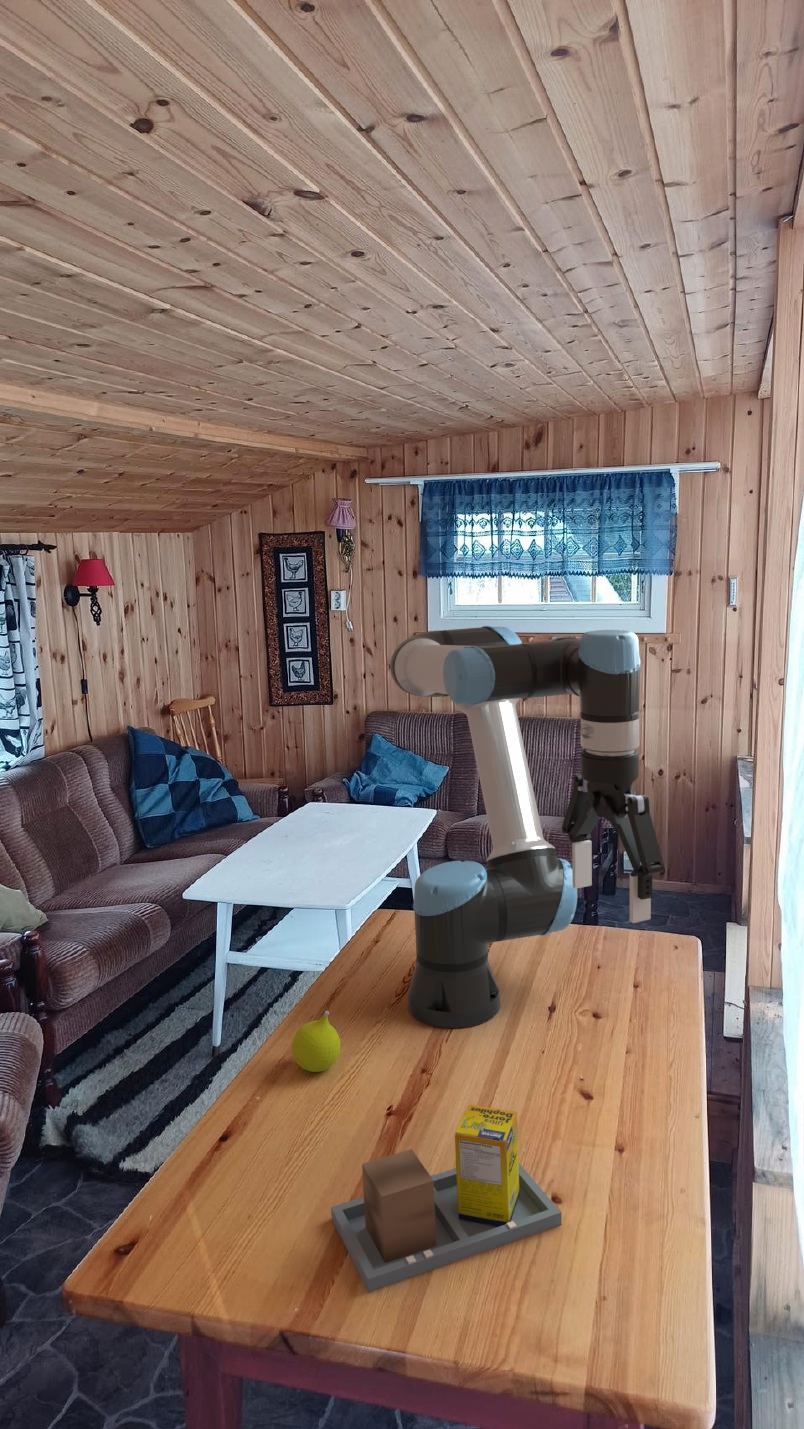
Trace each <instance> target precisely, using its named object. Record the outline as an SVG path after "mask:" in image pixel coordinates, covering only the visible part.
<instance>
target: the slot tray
mask: <svg viewBox="0 0 804 1429" xmlns="http://www.w3.org/2000/svg"><path fill="white" fill-rule="evenodd" d="M430 1176H431V1177H432V1179H433V1180H434V1203H435V1228H436V1246H434V1247H431V1248H428V1249H425V1250H422V1251H419V1252H416V1253H413V1254H411V1255H408V1256H405V1257H402V1258H399V1259H396V1260H393V1261H390V1262H387V1263H385V1262H384V1260H383V1258H382V1257H381V1255H380V1253H379V1251H378V1249H377V1247H376V1246H375V1244H374V1242H373V1240H372V1238H371V1236H370V1235H369V1233H368V1231H367V1229H366V1226H365V1208H364V1196H362V1197H359V1198H356V1199H353V1200H350V1201H346V1202H343V1203H340V1204H337V1205H334V1206H330V1208H331V1209H330V1211H331V1221H332V1223H333V1225H334V1227H335V1229H336V1231H337V1232H338V1235H339V1237H340V1238H341V1241H342V1242H343V1244H344V1246H345V1248H346V1250H347V1253H348V1254H349V1256H350V1258H351V1260H352V1262H353V1264H354V1266H355V1268H356V1270H357V1272H358V1274H359V1276H360V1278H361V1279H362V1281H363V1283H364V1286H365V1288H366V1290H367V1292H368V1293H371V1292H374V1291H377V1290H379V1289H382V1288H385V1287H388V1286H391V1285H393V1284H397V1283H399V1282H402V1281H406V1280H408V1279H411V1278H413V1277H417V1276H419V1275H423V1274H425V1273H428V1272H431V1271H433V1270H436V1269H440V1268H442V1267H444V1266H448V1265H451V1264H453V1263H456V1262H460V1261H463V1260H465V1259H469V1258H470V1257H474V1256H476V1255H479V1254H482V1253H484V1252H489V1251H491V1250H493V1249H496V1248H499V1247H501V1246H505V1245H508V1244H510V1243H513V1242H516V1241H519V1240H522V1239H525V1238H527V1237H531V1236H533V1235H536V1234H539V1233H542V1232H544V1231H547V1230H550V1229H554V1228H556V1227H559V1226H561V1225H562V1211H561V1210H560V1209H559V1208H558V1206H556V1204H555V1203H554V1202H553V1201H552V1200H551V1198H550V1197H549V1196H548V1195H547V1194H546V1193H545V1191H544V1190H543V1189H542V1188H541V1187H540V1185H538V1183H537V1182H536V1181H535V1180H534V1178H533V1177H532V1176H531V1175H530V1174H529V1173H528V1171H527V1170H526V1169H525V1168H524V1166H522V1164H521V1163H520V1162H519V1197H518V1200H517V1203H516V1206H515V1209H514V1213H513V1216H512V1219H511V1222H508V1223H507V1224H505V1225H502V1226H496V1225H491V1224H485V1223H480V1222H475V1221H469V1220H463V1219H459V1216H458V1197H457V1177H456V1167H455V1168H452V1169H449V1170H445V1171H441V1172H439V1173H436V1174H433V1175H430Z"/></svg>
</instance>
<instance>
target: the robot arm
mask: <svg viewBox="0 0 804 1429" xmlns="http://www.w3.org/2000/svg"><path fill="white" fill-rule="evenodd" d="M639 642H640V641H639V638H638V635H636V633H635V632H633V631H630V630H624V629H622V630H620V629H600V630H599V629H598V630H597V629H596V630H591V631H586V632H584V633H583V634H582V635H581V636H580V638H578V637H575V636H557V637H554V638H551V639H550V640H548V641H539V642H526V643H525V642H524V643H523V642H522V640H521V638H520V637H519V636H518V635H517V633H516V632H515V631H513V630H512V629H511V628H510V627H509V628H508V627H505V626H490V625H484V626H482V627H480V626H479V627H467V628H456V629H455V628H454V629H444V630H442V629H441V630H428V631H424V632H420V633H417V634H414V635H412V636H409V637H408V638H406V639H405V640H403V641H402V642H400V643H399V645H398V646H397V647H396V648H395V650H394V651H393V652H392V655H391V659H390V660H389V661H390V664H389V671H390V675H391V678H392V680H393V683H395V685H396V686H397V687H398V688H399V689H400V690H401V691H403V692H404V693H407V694H408V695H412V696H418V697H422V698H423V697H424V698H439V697H441V698H443V697H449V699H450V700H451V701H452V702H453V703H455V705H456V709H457V710H458V711H459V712H462V713H463V714H465V715H466V717H467V721H468V723H467V724H468V727H469V732H470V737H471V741H472V747H473V751H474V752H473V753H474V756H475V757H474V758H475V762H476V768H477V773H478V778H479V782H480V788H481V794H482V798H483V803H484V809H485V812H486V818H487V822H488V828H489V832H490V838H491V844H492V851H491V852H490V854H489V855H488V857H487V858H486V865H487V869H485V867H484V866H483V865H482V864H481V863H479V862H476V861H473V860H464V861H461V860H452V861H447V862H444V863H439V864H436V865H434V866H431V867H430V868H427V869H426V870H423V872H422V873H421V874H420V875H418V877H417V878H416V880H415V883H414V886H413V887H414V890H413V891H414V894H413V895H414V896H413V901H412V902H413V903H412V909H413V911H414V927H415V929H414V931H415V949H416V950H415V952H416V963H415V964H416V965H415V967H414V970H413V974H412V976H411V977H412V978H411V980H410V984H409V987H408V991H407V1009H408V1012H409V1013H410V1015H411V1016H412V1017H413V1018H414V1019H415V1020H417V1021H419V1022H421V1023H423V1024H426V1025H428V1026H431V1027H432V1026H433V1027H436V1028H437V1027H438V1028H447V1029H460V1028H467V1027H473V1026H477V1025H481V1024H483V1023H485V1022H487V1021H489V1020H491V1019H492V1018H494V1017H495V1016H496V1015H497V1013H498V1012H499V1011H500V1008H501V996H500V989H499V986H498V984H497V982H496V978H495V976H494V972H493V971H492V968H491V965H490V961H489V950H488V947H489V946H488V945H489V944H490V943H491V944H492V943H496V942H497V943H498V942H503V941H511V940H517V939H523V938H529V937H534V936H535V937H537V936H545V935H548V934H551V933H556V932H560V931H563V930H565V929H566V928H568V927H569V926H570V924H571V922H572V921H573V919H574V917H575V913H576V910H577V904H578V889H581V888H585V887H586V888H587V887H591V886H593V882H592V881H593V880H592V878H593V877H592V876H593V873H592V872H593V868H592V866H593V865H592V863H593V859H592V858H593V856H592V853H593V851H592V848H593V847H592V846H593V845H592V843H593V841H592V840H590V839H591V838H593V837H592V836H591V834H592V831H593V830H594V829H595V827H596V825H597V824H598V822H599V821H600V819H601V818H603V819H605V820H606V821H608V822H610V825H611V827H612V828H613V829H616V831H617V833H618V836H619V838H620V840H621V843H622V845H623V848H624V850H625V852H626V855H627V858H628V860H629V862H630V865H631V867H632V869H633V871H631V872H629V922H630V923H632V924H635V923H636V924H637V923H640V922H646V921H648V920H649V921H650V920H651V917H652V916H651V915H652V913H651V908H652V906H651V905H652V903H651V902H652V899H651V898H652V897H653V876H654V875H655V874H659V873H663V872H665V869H666V868H665V863H664V861H663V856H662V853H661V852H662V851H661V849H660V845H659V841H658V838H657V835H656V832H655V828H654V827H655V826H654V823H653V820H652V816H651V812H650V800H649V796H648V795H647V794H641V795H635V794H634V792H633V788H632V785H633V784H634V782H635V781H636V780H637V779H638V778H639V776H640V753H639V752H638V750H637V749H638V748H639V746H640V744H641V743H640V715H639V714H640V683H641V676H640V675H641V664H642V662H641V661H642V660H641V656H640V646H639ZM561 695H562V696H563V695H573V696H577V697H579V704H580V705H579V707H580V709H579V710H580V711H579V717H580V728H579V734H580V746H581V747H582V751H581V752H580V774H578V775H574V776H573V787H572V788H573V789H572V793H571V795H570V799H569V801H568V804H567V805H568V806H567V808H566V812H565V815H564V818H563V822H562V825H561V831H562V833H563V834H567V836H568V839H569V841H570V842H571V861H572V863H570V862H569V860H567V859H563V858H561V857H560V858H558V856H557V852H556V847H555V846H554V845H553V844H551V843H549V842H548V841H546V839H545V838H544V835H543V829H542V823H541V820H540V814H539V812H538V811H539V810H538V806H537V801H536V796H535V792H534V787H533V782H532V778H531V773H530V768H529V763H528V759H527V758H528V757H527V754H526V750H525V745H524V741H523V735H522V732H521V731H522V730H521V726H520V721H519V718H518V713H517V707H516V705H517V704H518V702H519V701H520V700H521V699H531V698H534V699H535V698H542V697H553V696H561Z"/></svg>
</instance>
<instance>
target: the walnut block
mask: <svg viewBox="0 0 804 1429" xmlns="http://www.w3.org/2000/svg"><path fill="white" fill-rule="evenodd" d="M361 1167H362V1169H361V1170H362V1171H361V1172H362V1185H363V1187H362V1188H363V1197H364V1208H365V1226H366V1229H367V1231H368V1233H369V1235H370V1236H371V1238H372V1240H373V1242H374V1244H375V1246H376V1247H377V1249H378V1251H379V1253H380V1255H381V1257H382V1258H383V1260H384V1262H385V1263H387V1262H390V1261H393V1260H396V1259H399V1258H402V1257H405V1256H408V1255H411V1254H413V1253H416V1252H419V1251H422V1250H425V1249H428V1248H431V1247H434V1246H436V1228H435V1203H434V1180H433V1179H432V1177H431V1176H432V1175H430V1174H429V1171H428V1170H427V1169H426V1167H425V1165H424V1164H423V1163H422V1162H421V1161H420V1158H418V1156H417V1155H416V1153H415V1151H414V1150H413V1149H407V1150H404V1151H400V1152H398V1153H392V1154H390V1155H387V1156H384V1157H381V1158H378V1159H374V1160H370V1161H367V1162H363V1163H361Z"/></svg>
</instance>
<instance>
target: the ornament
mask: <svg viewBox="0 0 804 1429" xmlns="http://www.w3.org/2000/svg"><path fill="white" fill-rule="evenodd" d="M329 1011H330V1008H327V1010H325V1011H324V1014H323V1016H322V1017H321V1018H320V1019H318V1020H313V1021H308V1022H306V1023H305V1024H303V1025H301V1027H299V1028H298V1029H297V1031H296V1032H295V1034H294V1036H293V1039H292V1041H291V1042H292V1043H291V1052H292V1056H293V1058H294V1060H295V1062H296V1063H297V1064H298V1066H299V1067H300V1068H302V1069H303V1070H305V1071H308V1072H310V1073H311V1072H312V1073H320V1072H324V1071H326V1070H329V1069H330V1068H331V1067H332V1066H334V1064H335V1063H336V1062H337V1060H338V1059H339V1056H340V1053H341V1047H342V1046H341V1038H340V1036H339V1033H338V1032H337V1030H336V1029H335V1028H334V1027H333V1026H332V1024H330V1022H329V1014H330V1012H329Z"/></svg>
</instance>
